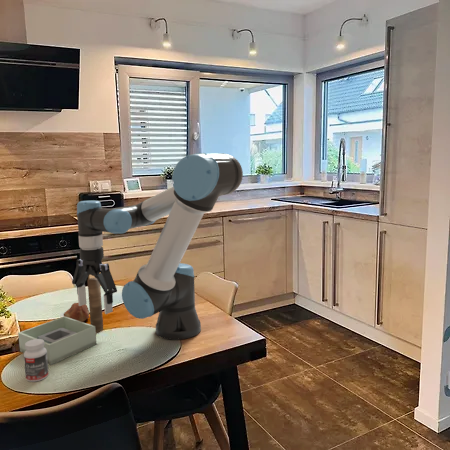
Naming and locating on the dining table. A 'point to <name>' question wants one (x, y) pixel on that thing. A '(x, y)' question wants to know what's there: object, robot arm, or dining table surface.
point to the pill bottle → (35, 360)
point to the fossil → (77, 312)
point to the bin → (60, 337)
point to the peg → (95, 304)
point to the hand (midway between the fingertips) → (95, 308)
